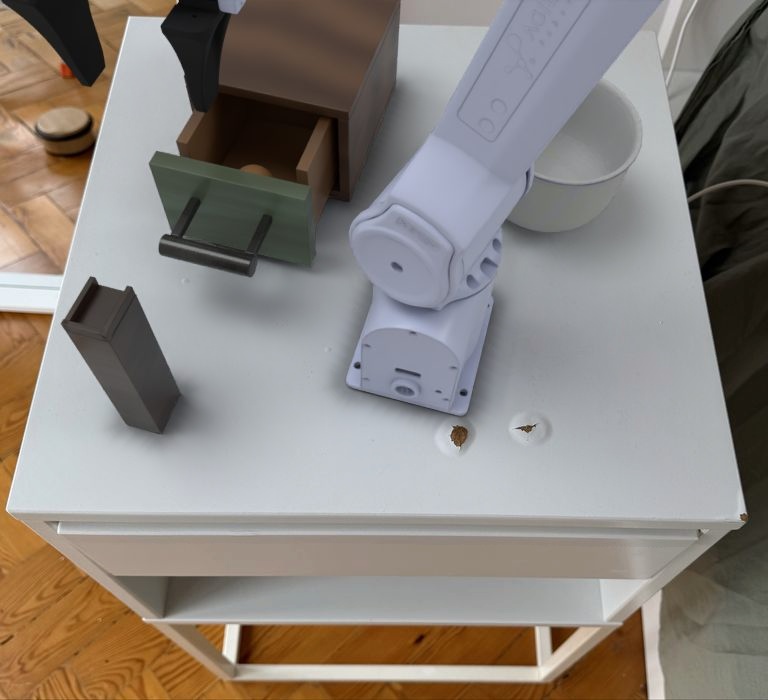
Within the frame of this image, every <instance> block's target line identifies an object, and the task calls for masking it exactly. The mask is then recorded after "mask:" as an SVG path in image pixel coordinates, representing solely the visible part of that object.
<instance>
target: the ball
mask: <svg viewBox="0 0 768 700" xmlns="http://www.w3.org/2000/svg"><path fill="white" fill-rule="evenodd" d="M240 170H242V171H247V172H251V173H255V174H260V175H264V176H268V177H273V176H272V174H271V173H270V172H269V171H268V170H267V169H266V168H264V167H262V166H259V165H247V166H244V167H242V168H241V169H240ZM273 178H274V177H273Z"/></svg>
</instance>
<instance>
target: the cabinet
mask: <svg viewBox="0 0 768 700" xmlns="http://www.w3.org/2000/svg"><path fill="white" fill-rule="evenodd" d="M401 2H402V0H246V2H245V3H244V5H243V7H242V8H241V9H240V11H239V13H238V14H231V17H230V21H229V24H228V27H227V31H226V34H225V38H224V43H223V48H222V53H221V60H220V69H219V92H220V93H224V94H229V95H233V96H238V97H242V98H247V99H251V100H256V101H260V102H265V103H270V104H274V105H279V106H283V107H288V108H292V109H297V110H301V111H306V112H310V113H315V114H319V115H324V116H328V117H333V118H338V144H339V173H338V175H337V178H336V180H335V182H334V185H333V187H332V189H331V192H330V194H329V197H328V198H332V199H335V200H341V201H345V202H351V200H352V197H353V194H354V192H355V189H356V187H357V184H358V182H359V181H360V180H359V179H360V177H361V174H362V172H363V170H364V167H365V164H366V162H367V160H368V157H369V155H370V152H371V149H372V147H373V145H374V142H375V139H376V137H377V134H378V132H379V130H380V127H381V125H382V122H383V119H384V117H385V114H386V112H387V110H388V107H389V104H390V102H391V100H392V97H393V95H394V92H395V89H396V88H397V76H398V75H397V74H398V59H399V58H398V57H399V42H400V41H399V39H400V25H401V24H400V23H401V22H400V21H401V7H402V3H401ZM183 79H184V83H185V88H186V93H187V96H188V101H189V105H190V108H191V113H193V112H194V110H195V107H194V106H193V103H192V101H191V97H190V94H189V90H188V85H187V81H186V77H185V74H184V75H183Z"/></svg>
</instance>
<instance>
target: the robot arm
mask: <svg viewBox="0 0 768 700" xmlns="http://www.w3.org/2000/svg"><path fill="white" fill-rule="evenodd" d="M664 1H665V0H503V3H502V4H501V5H500V8H499V10H498V12H497V14H496V15H495V17H494V18H493V21H492V22H491V24H490V26H489V28H488V29H487V31H486V33H485V35H484V37H483V39H482V41H481V43H480V44H479V45H478V48H477V49H476V52H475V53H474V55H473V57H472V59H471V60H470V63H469V64H468V66H467V68H466V70H465V71H464V73H463V75H462V77H461V78H460V80H459V83H458V85H457V86H456V88H455V90H454V91H453V93H452V95H451V97H450V99H449V101H448V103H447V104H446V106H445V108H444V110H443V111H442V113H441V115H440V117H439V119H438V121H437V123H436V124H435V126H433V129H432V130H431V132H430V135H429V136H428V138H426V140H425V141H424V142H423V143H422V144H421V146H420V147H419V148H418V150H416V152H415V153H414V154H413V155H412V156H411V157H410V159H409V160H408V161H407V162H406V163H405V165H404V166H403V167H402V168H401V169H400V171H398V173H397V174H396V175H395V176H394V177H393V179H392V180H391V181H390V182H389V183H388V184H387V186H386V187H384V189H383V190H382V191H381V193H380V194H379V195H378V196H377V197H376V198H375V200H374V201H373V202H372V203H371V204H370V205H369V207H368V208H367V209H364V210H361V211H360V213H358V215H357V216H356V217H355V218H354V219H353V220H352V222H351V224H350V226H349V230H348V242H349V246H350V249H351V252H352V255H353V257H354V259H355V262H356V264H357V265H358V267H359V269H360V271H361V272H362V274H363V275H364V276H365V277H366V279H368V280H369V282H370V283H371V284H372V301H371V303H370V306H369V309H368V313H367V316H366V318H365V321H364V324H363V328H362V330H361V333H360V335H359V339H358V341H357V345H356V347H355V349H354V353H353V356H352V359H351V361H350V364H349V368H348V371H347V373H346V377H345V383H346V385H347V386H348V387H349V388H352V389H355V390H359V391H362V392H366V393H369V394H370V393H371V394H373V395H378V396H382V397H385V398H389V399H393V400H396V401H400V402H405V403H408V404H412V405H415V406H420V407H423V408H427V409H431V410H435V411H438V412H442V413H446V414H451V415H455V416H459V417H462V416H465V415H466V414H467V412H468V411H469V410H468V409H469V406H470V403H471V398H472V394H473V389H474V385H475V382H476V377H477V372H478V370H479V369H478V368H479V365H480V361H481V356H482V353H483V352H482V351H483V348H484V344H485V339H486V335H487V332H488V328H489V324H490V320H491V319H490V318H491V315H492V312H493V311H492V310H493V306H494V301H495V299H494V297H493V296H492V292H493V289H494V285H495V282H496V278H497V274H498V271H499V267H500V264H501V260H502V255H503V253H502V252H503V231H502V225H503V224H504V222H505V221H506V220H507V219H506V218H507V217H508V215H509V214H510V212H511V211H512V210H513V208H514V207H515V205H516V204H517V203H518V202H520V201H521V200H522V199H523V197H524V196H525V195H526V194H527V193H528V191H529V190H530V188H531V186H532V182H533V179H534V163H535V160H536V159H537V158H538V157H539V155H540V154H541V153H542V152H543V150H544V149H545V148H546V147H547V145H548V144H549V143H550V142H551V140H552V139H553V138H554V137H555V135H556V134H557V133H558V132H559V130H560V129H561V128H562V127H563V125H564V124H565V123H566V122H567V120H568V119H569V118H570V117H571V116H572V114H573V113H574V112H575V111H576V109H577V108H578V107H579V106H580V104H581V103H582V102H583V101H584V99H585V98H586V97H587V96H588V94H589V93H590V92H591V91H592V89H593V88H594V87H595V86H596V84H597V83H598V82H599V81H600V79H601V78H603V77H604V75H606V73H607V72H608V71H609V69H610V68H611V67H612V66H613V64H614V63H615V62H616V61H617V59H618V58H619V57H620V56H621V54H622V53H623V52H624V51H625V49H626V48H627V47H628V45H629V44H630V43H631V42H632V41H633V39H635V37H636V36H637V35H638V33H639V32H640V31H641V29H642V28H643V27H644V26H645V24H646V23H647V22H648V21H649V20H650V18H651V17H652V16H653V15H654V14H655V12H656V11H657V10H658V9H659V7H660V6H661V5H662V3H663V2H664ZM0 2H1V3H2V4H3V5H5V6H6V7H8V8H9V9H10V10H12V11H13V12H15V13H16V14H17V15H18V16H20V17H21V18H22V19H23V20H24V21H26V22H27V23H28V24H29V25H30V26H31V27H33V28H34V29H35V31H36V32H38V34H40V35H41V37H42V38H44V39H45V41H46V42H47V43H48V44H49V45H50V47H52V49H53V50H54V51H55V52H56V54H57V55H58V56H59V57H60V59H61V60H62V61H63V63H64V64H65V65H66V66H67V68H68V69H69V70H70V72H71V73H72V75H73V76H74V77H75V79H76V80H77V81H78V82H79V84H80V85H81V86H84V87H88V88H92V87H93V85H94V84H95V82H96V81H97V80H98V79H99V77H100V76H101V74H102V73H103V72H104V70H105V69H106V60H105V59H106V58H105V53H104V51H103V47H102V43H101V40H100V37H99V34H98V30H97V27H96V25H95V21H94V18H93V15H92V14H93V13H92V11H91V7H90V1H89V0H0ZM245 2H246V0H177V3H176V4H174V5H173V6H172V8H171V10H170V11H169V13H168V14H167V15H166V17H164V20H163V21H162V23H160V25H159V26H160V30H161V33H162V35H163V36H164V37H165V39H166V40H167V41H168V43H169V44H170V46H171V48H172V50H173V51H174V53H175V56H176V57H177V59H178V61H179V63H180V66H181V68H182V70H183V73H184V74H185V77H186V81H187V85H188V90H189V94H190V97H191V101H192V103H193V106H194V107H195V109H196V111H199V112H203V113H207V112H208V111H209V109H210V108H211V106H212V104H213V102H214V101H215V99H216V97H217V96H218V94H219V69H220V60H221V53H222V48H223V43H224V38H225V34H226V31H227V27H228V24H229V21H230V17H231V14H238V13H239V11H240V9H241V8H242V7H243V5H244V3H245ZM356 366H360V368H357V367H356ZM461 393H465V395H461Z"/></svg>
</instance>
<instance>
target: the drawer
mask: <svg viewBox="0 0 768 700" xmlns="http://www.w3.org/2000/svg"><path fill="white" fill-rule="evenodd" d="M191 113H192V112H191ZM175 143H176V146H177V151H178V154H179V155H177V154H173V153H169V152H164V151H160V150H155V152H154V153H153V155H152V157H151V158H150V160H149V162H148V166H149V170H150V172H151V175H152V178H153V181H154V184H155V187H156V190H157V194H158V196H159V199H160V202H161V205H162V208H163V210H164V214H165V216H166V217H165V218H166V220H167V223H168V226H169V229H170V234H169V233H163V235H161V236H160V239H159V242H158V254H159V255H160V256H161V257H165V258H169V259H173V260H176V261H177V260H178V261H181V262H184V263H185V262H186V263H190V264H193V265H197V266H201V267H205V268H210V269H213V270H217V271H223V272H226V273H229V274H232V275H233V274H234V275H237V276H242V277H247V278H250V279H251V278H252V277H254V275H255V273H256V271H257V266H258V258H257V257H258V255H261V256H265V257H269V258H273V259H278V260H281V261H285V262H289V263H294V264H298V265H302V266H306V267H309V268H310V267H312V265H313V263H314V261H315V258H316V256H317V246H316V232H315V229H316V227H317V225H318V222H319V220H320V218H321V215H322V213H323V211H324V209H325V206H326V203H327V201H328V199H329V198H330V197H329V194H330V192H331V189H332V187H333V185H334V182H335V180H336V178H337V175H338V173H339V144H338V118H333V117H328V116H324V115H319V114H315V113H310V112H306V111H301V110H297V109H292V108H288V107H283V106H279V105H274V104H270V103H265V102H260V101H256V100H251V99H247V98H242V97H238V96H233V95H229V94H224V93H220V92H219V94H218V96H217V97H216V99H215V101H214V102H213V104H212V106H211V108H210V109H209V111H208V112H207V113H203V112H199V111H196V109H195V110H194V112H193V113H192V114H190V117H189V118H188V119H187V122H186V123H185V125H184V126H183V128H182V130H181V132H180V133H179V135H178V137H177V138H176V140H175ZM247 165H259V166H262V167H264V168H266V169H267V170H268V171H269V172H270V173H271V174H272V176H273V177H274V178H273V177H268V176H264V175H260V174H255V173H251V172H247V171H242V170H240V169H241V168H242V167H244V166H247ZM184 237H187V238H184ZM189 238H192V239H189ZM193 239H196V240H199V241H196V240H193ZM201 241H203V242H201ZM205 242H207V243H205ZM209 243H212V244H209ZM213 244H216V245H213ZM217 245H219V246H217ZM222 246H224V247H222ZM226 247H228V248H226ZM230 248H232V249H230ZM234 249H236V250H234ZM238 250H239V251H238ZM241 251H244V252H241Z"/></svg>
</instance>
